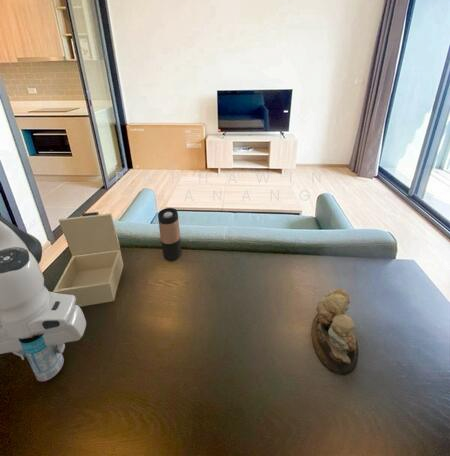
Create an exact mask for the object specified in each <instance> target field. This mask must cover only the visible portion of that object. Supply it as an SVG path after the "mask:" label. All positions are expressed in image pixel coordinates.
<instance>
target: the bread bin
mask: <svg viewBox="0 0 450 456" xmlns="http://www.w3.org/2000/svg"><path fill="white" fill-rule="evenodd" d="M123 268H124V261H123V257H122V251H121V249H118V250H111V251H103V252H95V253H88V254H80V255H71V258H70V260H69V262H68V264H67V265H66V267H65V269H64V271H63V273H62V275H61V276H60V278H59V280H58V282H57V283H56V285H55V287H54V289H53V291H52V292H53V293H58V294H66V295H74V296H75V297H76V302H75V305H77V306H79V307H80V308H82V307H87V306H93V305H100V304H104V303H106V304H107V303H112V302H115V299H116V295H117V292H118V287H119V284H120V280H121V276H122V272H123V270H124V269H123Z"/></svg>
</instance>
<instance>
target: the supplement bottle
mask: <svg viewBox="0 0 450 456" xmlns="http://www.w3.org/2000/svg"><path fill="white" fill-rule="evenodd" d="M39 335H40V334H39ZM39 335H37V336H35V335H33V336H34V337H33V336H32V337H31V338H25V339H20V338H19V341H20V343H21V345H22V348H23V350H24V352H25V354H26V357H27V359H26V360H27V361H28V363H29V365H30V369H31V370H32V372H33V374H34V376H35V379H36V380H37V381H38V382H42V383H45V382H48V381H51V380H53V379H54V378H55V377H57V375H58V374H59V373H60V372H61V370H62V368H63V366H64V361H65V358H64V355H63V353H60V354H55V352H54V349H55V348H56V345H57V344H55V345H49V346H46V344H45V342H44V339H43V337H42V335H43V334H41V335H40V336H39Z"/></svg>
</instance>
